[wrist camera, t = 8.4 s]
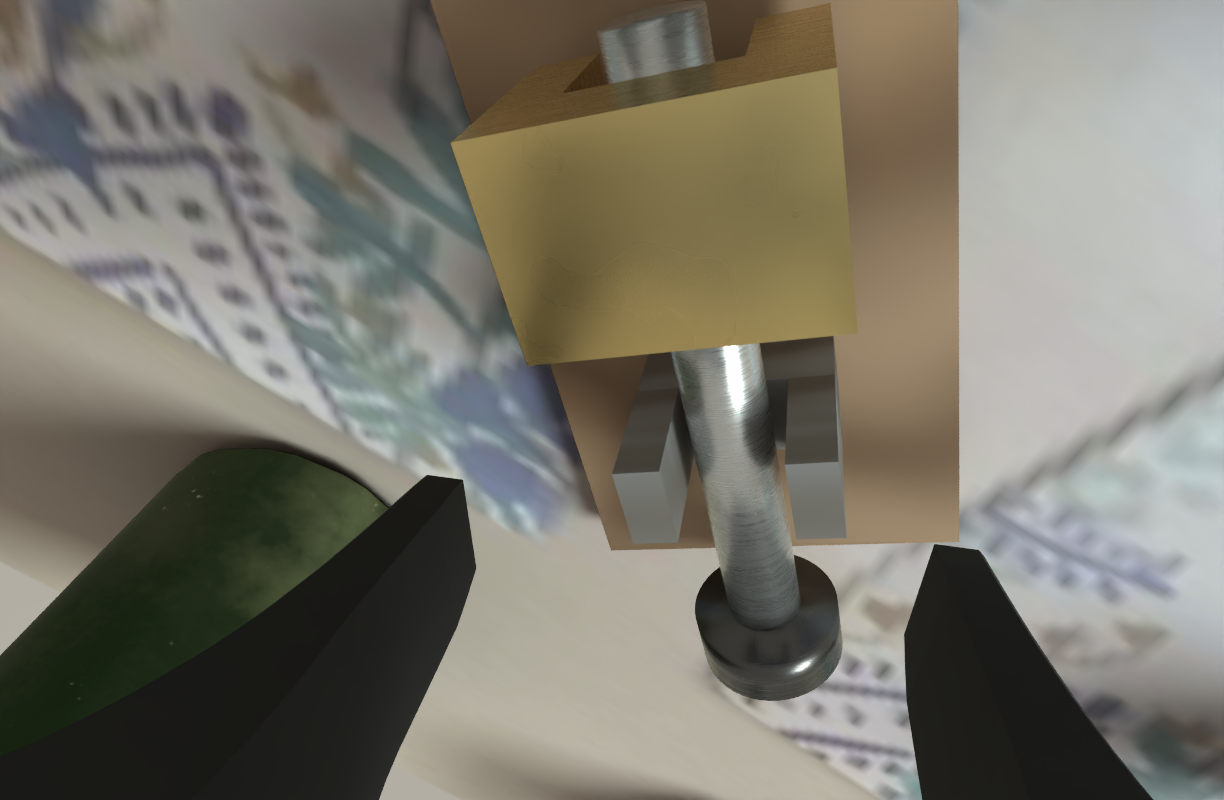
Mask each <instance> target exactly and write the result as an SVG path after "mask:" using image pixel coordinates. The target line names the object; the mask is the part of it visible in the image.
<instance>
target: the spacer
mask: <svg viewBox="0 0 1224 800" xmlns="http://www.w3.org/2000/svg"><path fill="white" fill-rule="evenodd" d="M451 146H452V149H453V152H454V155H455V158H456V160H457V163H458V166H459V169H460V172H461V175H462V178H463V181H464V184H465V187H466V189H467V192H468V195H469V198H470V201H471V204H472V207H473V210H474V213H475V216H476V218H477V221H478V224H479V227H480V230H481V233H482V236H483V239H484V242H485V245H486V247H487V250H488V253H489V256H490V259H491V262H492V265H493V268H494V271H495V274H496V277H497V279H498V282H499V285H500V288H501V291H502V294H503V297H504V300H505V303H506V306H507V308H508V311H509V314H510V317H511V320H512V323H513V326H514V329H515V332H516V335H517V337H518V340H519V343H520V346H521V349H522V352H523V355H524V358H525V361H526V364H527V366H532V365H543V364H553V363H563V362H573V361H583V360H593V359H604V358H614V357H624V356H634V355H644V354H654V353H665V352H675V351H685V350H695V349H705V348H715V347H726V346H736V345H746V344H756V343H766V342H776V341H787V340H797V339H807V338H817V337H827V336H837V335H848V334H858V328H857V315H856V303H855V290H854V277H853V264H852V252H851V239H850V226H849V213H848V201H847V188H846V175H845V162H844V150H843V137H842V124H841V111H840V99H839V86H838V73H837V62H836V52H835V43H834V33H833V23H832V14H831V4H830V3H826V4H822V5H817V6H813V7H808V8H804V9H799V10H794V11H790V12H785V13H781V14H776V15H771V16H767V17H762V18H758V19H756V21H755V24H754V28H753V31H752V35H751V38H750V42H749V45H748V49H747V52H746V56H743V57H738V58H733V59H728V60H723V61H719V62H714V63H709V64H704V65H699V66H694V67H689V68H685V69H680V70H675V71H670V72H665V73H661V74H656V75H652V76H647V77H641V78H636V79H631V80H626V81H621V82H616V83H612V84H607V85H606V81H605V77H604V72H603V68H602V64H601V59H600V55H599V53H598V54H593V55H588V56H584V57H579V58H575V59H570V60H566V61H561V62H556V63H552V64H547V65H543V66H538V67H536V68H535V69H534V70H532V71H531V72H530V73H529V74H528V75H527V76H526V77H524V78H523V79H522V80H521V81H520V82H519V83H518V84H516V85H515V86H514V87H513V88H512V89H511V90H510V91H509V92H507V93H506V94H505V95H504V96H503V97H502V98H501V99H499V100H498V101H497V102H496V103H495V104H494V105H493V106H492V107H490V108H489V109H488V110H487V111H486V112H485V113H484V114H482V115H481V116H480V117H479V118H478V119H477V120H476V121H475V122H473V123H472V124H471V125H470V126H469V127H468V128H467V129H465V130H464V131H463V132H462V133H461V134H460V135H459V136H458V137H456V138H455V139H454V140H453V141H452V142H451Z"/></svg>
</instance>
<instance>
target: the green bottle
mask: <svg viewBox="0 0 1224 800" xmlns="http://www.w3.org/2000/svg"><path fill="white" fill-rule="evenodd" d="M387 509H389V508H388V507H386V506H385V505H384V504H383V503H382V502H381V501H380V500H379V499H377V498H376V497H375V496H374V495H373V494H372V493H371V492H370V491H368V490H367V489H366V488H364V487H363V486H361V485H359V484H358V483H356V482H354V481H353V480H351V479H350V478H348V477H346V476H345V475H343V474H341V473H338V472H336V471H333V470H331V469H328V468H326V467H324V466H321V465H319V464H316V463H314V462H311V461H309V460H306V459H304V458H301V457H299V456H297V455H292V454H287V453H282V452H278V451H273V450H268V449H219V450H216V451H213V452H209V453H206V454H203V455H200V456H199V457H198V458H196V459H195V460H194V461H193V462H192V463H190V464H189V465H188V466H187V467H185V468H184V469H183V470H182V471H180V472H179V473H178V474H177V475H175V477H174V478H173V479H172V480H171V481H170V482H169V483H168V484H167V485H166V486H165V487H164V488H163V489H162V490H161V491H160V492H159V493H158V494H157V495H156V496H155V497H154V498H153V499H152V500H151V501H150V502H149V503H148V504H147V505H146V506H145V507H144V508H143V509H142V510H141V511H140V512H139V513H138V515H137V516H136V517H135V518H134V519H133V520H132V521H131V522H130V523H129V524H128V525H127V526H126V527H125V528H124V529H123V530H122V531H121V532H120V533H119V534H118V535H117V536H116V537H115V538H114V539H113V540H112V541H111V542H110V543H109V544H108V545H107V546H106V547H105V548H104V549H103V550H102V552H101V553H100V554H99V555H98V556H97V557H96V558H95V559H94V560H93V561H92V562H91V563H90V564H89V565H88V566H87V567H86V568H85V569H84V570H83V571H82V572H81V573H80V574H79V575H78V576H77V577H76V578H75V579H74V580H73V581H72V582H71V583H70V584H69V585H68V586H67V587H66V589H65V590H64V591H63V592H62V593H61V594H60V595H59V596H58V597H57V598H56V599H55V600H54V601H53V602H52V603H51V604H50V605H49V606H48V607H47V608H46V609H45V610H44V611H43V612H42V613H41V614H40V615H39V616H38V617H37V618H36V620H34V621H33V622H32V623H31V625H30V626H29V627H28V628H27V629H26V630H25V631H24V632H23V633H22V634H21V635H20V636H19V637H18V638H17V639H16V640H15V641H14V642H13V643H12V644H11V645H10V646H9V647H8V648H7V649H6V650H5V651H4V652H3V653H2V654H1V655H0V757H1V756H3V755H5V754H7V753H10V752H12V751H14V750H17V749H19V748H21V747H23V746H26V745H28V744H30V743H32V742H35V741H37V740H39V739H41V738H43V737H45V736H47V735H50V734H52V733H54V732H56V731H58V730H60V729H62V728H64V727H66V726H68V725H70V724H72V723H74V722H76V721H78V720H80V719H82V718H84V717H86V716H88V715H90V714H92V713H94V712H96V711H98V710H100V709H102V708H104V707H106V706H108V705H110V704H112V703H114V702H115V701H117V700H119V699H121V698H123V697H125V696H127V695H129V694H131V693H132V692H134V691H136V690H138V689H139V688H141V687H143V686H145V685H146V684H148V683H150V682H152V681H153V680H155V679H157V678H158V677H160V676H162V675H164V674H165V673H167V672H169V671H170V670H172V669H174V668H176V667H177V666H179V665H181V664H182V663H184V662H186V661H188V660H189V659H191V658H193V657H195V656H196V655H198V654H200V653H201V652H203V651H204V650H206V649H207V648H209V647H211V646H212V645H214V644H215V643H217V642H218V641H220V640H221V639H223V638H224V637H226V636H227V635H229V634H230V633H232V632H233V631H235V630H236V629H238V628H239V627H241V626H242V625H244V624H245V623H247V622H248V621H250V620H251V619H252V618H254V617H255V616H257V615H258V614H259V613H261V612H262V611H264V610H265V609H266V608H268V607H269V606H270V605H272V604H273V603H275V602H276V601H277V600H278V599H280V598H281V597H282V596H284V595H285V594H286V593H287V592H289V591H290V590H291V589H293V588H294V587H295V586H297V585H298V584H299V583H300V582H302V581H303V580H304V579H306V578H307V577H308V576H309V575H311V574H312V573H313V572H315V571H316V570H317V569H318V568H320V567H321V566H322V565H323V564H325V563H326V562H327V561H328V560H329V559H330V558H332V557H333V556H334V555H335V554H336V553H338V552H339V551H340V550H341V549H342V548H344V547H345V546H346V545H347V544H348V543H349V542H351V541H352V540H353V539H354V538H355V537H357V536H358V535H359V534H360V533H361V532H362V531H364V530H365V529H366V528H367V527H368V526H369V525H370V524H372V523H373V522H374V521H375V520H376V519H377V518H378V517H379V516H381V515H382V514H383V513H384V512H385V511H386V510H387Z"/></svg>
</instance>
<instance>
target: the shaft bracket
mask: <svg viewBox="0 0 1224 800" xmlns="http://www.w3.org/2000/svg"><path fill="white" fill-rule="evenodd" d="M683 1H691V0H430V2H431V5H432V8H433V11H434V14H435V17H436V20H437V23H438V26H439V29H440V32H441V35H442V38H443V42H444V45H445V48H446V51H447V54H448V57H449V60H450V63H451V66H452V69H453V72H454V75H455V78H456V81H457V84H458V87H459V90H460V93H461V96H462V99H463V102H464V105H465V108H466V111H467V114H468V117H469V120H470V123H471V124H472V123H473V122H475V121H476V120H477V119H478V118H479V117H480V116H481V115H482V114H484V113H485V112H486V111H487V110H488V109H489V108H490V107H492V106H493V105H494V104H495V103H496V102H497V101H498V100H499V99H501V98H502V97H503V96H504V95H505V94H506V93H507V92H509V91H510V90H511V89H512V88H513V87H514V86H515V85H516V84H518V83H519V82H520V81H521V80H522V79H523V78H524V77H526V76H527V75H528V74H529V73H530V72H531V71H532V70H534V69H535V68H536V67H538V66H543V65H547V64H552V63H556V62H561V61H566V60H570V59H575V58H579V57H584V56H588V55H593V54H598V53H599V55H600V59H601V64H602V68H603V72H604V77H605V81H606V85H607V84H609V83H608V79H607V75H606V70H605V66H604V62H603V57H602V53H601V49H600V44H599V40H598V36H597V29H598V28H599V27H600V26H602V25H604V24H606V23H608V22H610V21H612V20H615V19H618V18H620V17H623V16H626V15H629V14H632V13H635V12H638V11H642V10H646V9H649V8H653V7H657V6H662V5H666V4H671V3H676V2H683ZM702 1H705V2H706V7H707V14H708V20H709V26H710V32H711V39H712V45H713V51H714V58H715V62H719V61H723V60H728V59H733V58H738V57H743V56H746V52H747V49H748V45H749V42H750V38H751V35H752V31H753V28H754V24H755V21H756V19H758V18H762V17H767V16H771V15H776V14H781V13H785V12H790V11H794V10H799V9H804V8H808V7H813V6H817V5H822V4H826V3H830V4H831V14H832V23H833V33H834V43H835V52H836V62H837V73H838V86H839V99H840V111H841V124H842V137H843V150H844V162H845V175H846V188H847V201H848V213H849V226H850V239H851V252H852V264H853V277H854V290H855V303H856V315H857V328H858V334H848V335H837V336H827V337H817V338H807V339H797V340H787V341H776V342H766V343H760V347H761V354H762V360H763V366H764V372H765V379H766V385H767V391H768V398H769V404H770V410H771V417H772V423H773V429H774V435H775V442H776V448H777V454H778V461H779V467H780V473H781V480H782V486H783V492H784V498H785V505H786V511H787V517H788V524H789V530H790V536H791V542H792V546H804V545H844V544H885V543H925V542H959V192H958V0H702ZM550 366H551V369H552V372H553V375H554V378H555V381H556V384H557V387H558V390H559V393H560V396H561V399H562V402H563V406H564V409H565V412H566V415H567V418H568V421H569V424H570V427H571V430H572V433H573V436H574V439H575V442H576V445H577V448H578V451H579V454H580V457H581V460H582V463H583V466H584V469H585V472H586V475H587V478H588V481H589V484H590V487H591V490H592V493H593V497H594V500H595V503H596V506H597V509H598V512H599V515H600V518H601V521H602V524H603V527H604V530H605V533H606V536H607V539H608V542H609V545H610V548H611V550H642V549H682V548H716V547H715V543H714V538H713V534H712V530H711V525H710V521H709V517H708V512H707V508H706V504H705V499H704V495H703V491H702V486H701V482H700V478H699V473H698V469H697V465H696V460H695V456H694V452H693V447H692V443H691V439H690V434H689V430H688V426H687V421H686V417H685V413H684V408H683V404H682V400H681V395H680V391H679V387H678V382H677V378H676V374H675V369H674V365H673V361H672V356H671V352H665V353H654V354H644V355H634V356H624V357H614V358H604V359H593V360H583V361H573V362H563V363H553V364H550Z"/></svg>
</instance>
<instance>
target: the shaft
mask: <svg viewBox="0 0 1224 800" xmlns="http://www.w3.org/2000/svg"><path fill="white" fill-rule="evenodd" d="M597 36H598V40H599V44H600V49H601V53H602V57H603V62H604V66H605V70H606V75H607V79H608V83H609V84H612V83H616V82H621V81H626V80H631V79H636V78H641V77H647V76H652V75H656V74H661V73H665V72H670V71H675V70H680V69H685V68H689V67H694V66H699V65H704V64H709V63H714V62H715V58H714V51H713V45H712V39H711V32H710V26H709V20H708V14H707V7H706V2H705V1H702V0H691V1H683V2H676V3H671V4H666V5H662V6H657V7H653V8H649V9H646V10H642V11H638V12H635V13H632V14H629V15H626V16H623V17H620V18H618V19H615V20H612V21H610V22H608V23H606V24H604V25H602V26H600V27H599V28H598V29H597ZM671 356H672V361H673V365H674V369H675V374H676V378H677V382H678V387H679V391H680V395H681V400H682V404H683V408H684V413H685V417H686V421H687V426H688V430H689V434H690V439H691V443H692V447H693V452H694V456H695V460H696V465H697V469H698V473H699V478H700V482H701V486H702V491H703V495H704V499H705V504H706V508H707V512H708V517H709V521H710V525H711V530H712V534H713V538H714V543H715V547H716V551H717V556H718V560H719V564H720V567H719V568H718V569H717V570H715V571H714V572H713V573H712V574H711V575H710V576H709V577H708V578H707V579H706V581H705V582H704V583H703V585H702V587H701V588H700V590H699V593H698V595H697V599H696V603H695V615H696V620H697V624H698V628H699V631H700V635H701V639H702V643H703V646H704V650H705V654H706V658H707V661H708V664H709V666H710V668H711V670H712V671H713V673H714V674H715V676H716V677H717V678H718V679H719V680H720V681H721V682H722V683H723V684H724V685H725V686H727V687H728V688H730V689H731V690H733V691H734V692H737V693H739V694H741V695H743V696H746V697H749V698H753V699H758V700H767V701H779V700H786V699H791V698H795V697H799V696H801V695H804V694H806V693H808V692H810V691H812V690H814V689H815V688H817V687H818V686H820V685H821V684H822V683H823V682H825V681H826V680H827V679H828V678H829V677H830V675H831V674H832V673H833V672H834V670H835V668H836V667H837V665H838V663H839V660H840V657H841V653H842V644H843V641H842V633H841V625H840V617H839V609H838V600H837V594H836V591H835V588H834V586H833V584H832V582H831V580H830V579H829V578H828V576H827V575H826V574H825V573H824V572H823V571H822V570H821V569H820V568H819V567H817V566H816V565H815V564H813V563H811V562H810V561H808V560H806V559H804V558H801V557H798V556H795V555H793V549H792V542H791V536H790V530H789V524H788V517H787V511H786V505H785V498H784V492H783V486H782V480H781V473H780V467H779V461H778V454H777V448H776V442H775V435H774V429H773V423H772V417H771V410H770V404H769V398H768V391H767V385H766V379H765V372H764V366H763V360H762V354H761V347H760V343H756V344H746V345H736V346H726V347H715V348H705V349H695V350H685V351H675V352H671Z"/></svg>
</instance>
